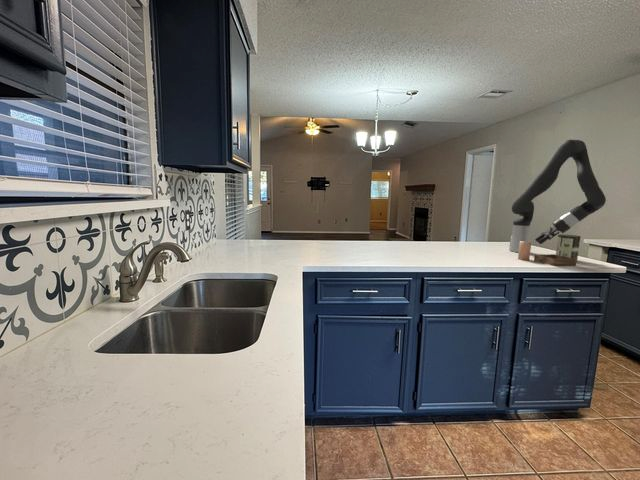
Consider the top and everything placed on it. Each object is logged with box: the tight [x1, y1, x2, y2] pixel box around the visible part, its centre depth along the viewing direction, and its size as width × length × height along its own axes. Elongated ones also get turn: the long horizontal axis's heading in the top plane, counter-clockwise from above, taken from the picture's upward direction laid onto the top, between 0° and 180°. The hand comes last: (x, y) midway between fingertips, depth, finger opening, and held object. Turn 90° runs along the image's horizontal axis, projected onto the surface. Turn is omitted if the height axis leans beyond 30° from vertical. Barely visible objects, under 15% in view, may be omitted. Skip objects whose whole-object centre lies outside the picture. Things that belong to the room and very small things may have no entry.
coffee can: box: [555, 233, 582, 262], centre depth 181 cm, size 10×10×14 cm
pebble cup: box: [517, 241, 532, 261], centre depth 180 cm, size 6×6×10 cm
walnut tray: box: [533, 253, 578, 267], centre depth 172 cm, size 13×13×4 cm
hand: (537, 241), depth 177 cm, fingers open, 8 cm apart
